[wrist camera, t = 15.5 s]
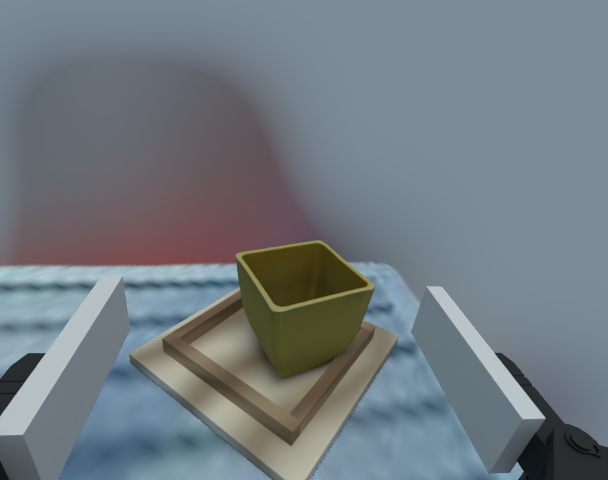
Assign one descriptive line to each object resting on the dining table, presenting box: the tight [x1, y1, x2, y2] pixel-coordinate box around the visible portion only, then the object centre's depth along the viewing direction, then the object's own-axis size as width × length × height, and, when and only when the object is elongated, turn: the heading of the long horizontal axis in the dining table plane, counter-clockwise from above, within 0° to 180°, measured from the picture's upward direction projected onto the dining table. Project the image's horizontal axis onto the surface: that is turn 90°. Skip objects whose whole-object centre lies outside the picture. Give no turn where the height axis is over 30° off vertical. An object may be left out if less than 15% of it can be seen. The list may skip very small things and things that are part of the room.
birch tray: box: [129, 287, 399, 480], centre depth 33 cm, size 18×18×2 cm
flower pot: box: [236, 241, 375, 377], centre depth 30 cm, size 9×9×9 cm
